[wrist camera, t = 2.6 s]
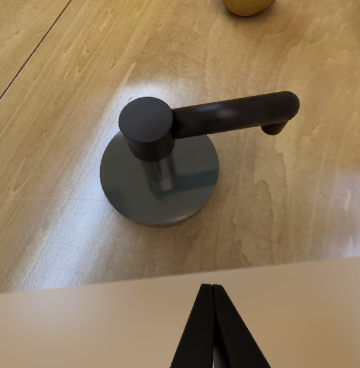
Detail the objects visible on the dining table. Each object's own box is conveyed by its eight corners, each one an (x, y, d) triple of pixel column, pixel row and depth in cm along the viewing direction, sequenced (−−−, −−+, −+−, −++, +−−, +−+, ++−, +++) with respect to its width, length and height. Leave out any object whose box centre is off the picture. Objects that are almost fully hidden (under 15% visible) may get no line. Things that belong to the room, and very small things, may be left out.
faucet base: (229, 215, 22) (242, 199, 16) (107, 237, 21) (81, 227, 16) (204, 116, 26) (208, 77, 20) (102, 132, 25) (79, 97, 20)
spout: (133, 169, 18) (120, 147, 14) (129, 130, 19) (116, 100, 16) (291, 143, 18) (315, 115, 15) (276, 106, 20) (295, 72, 16)
